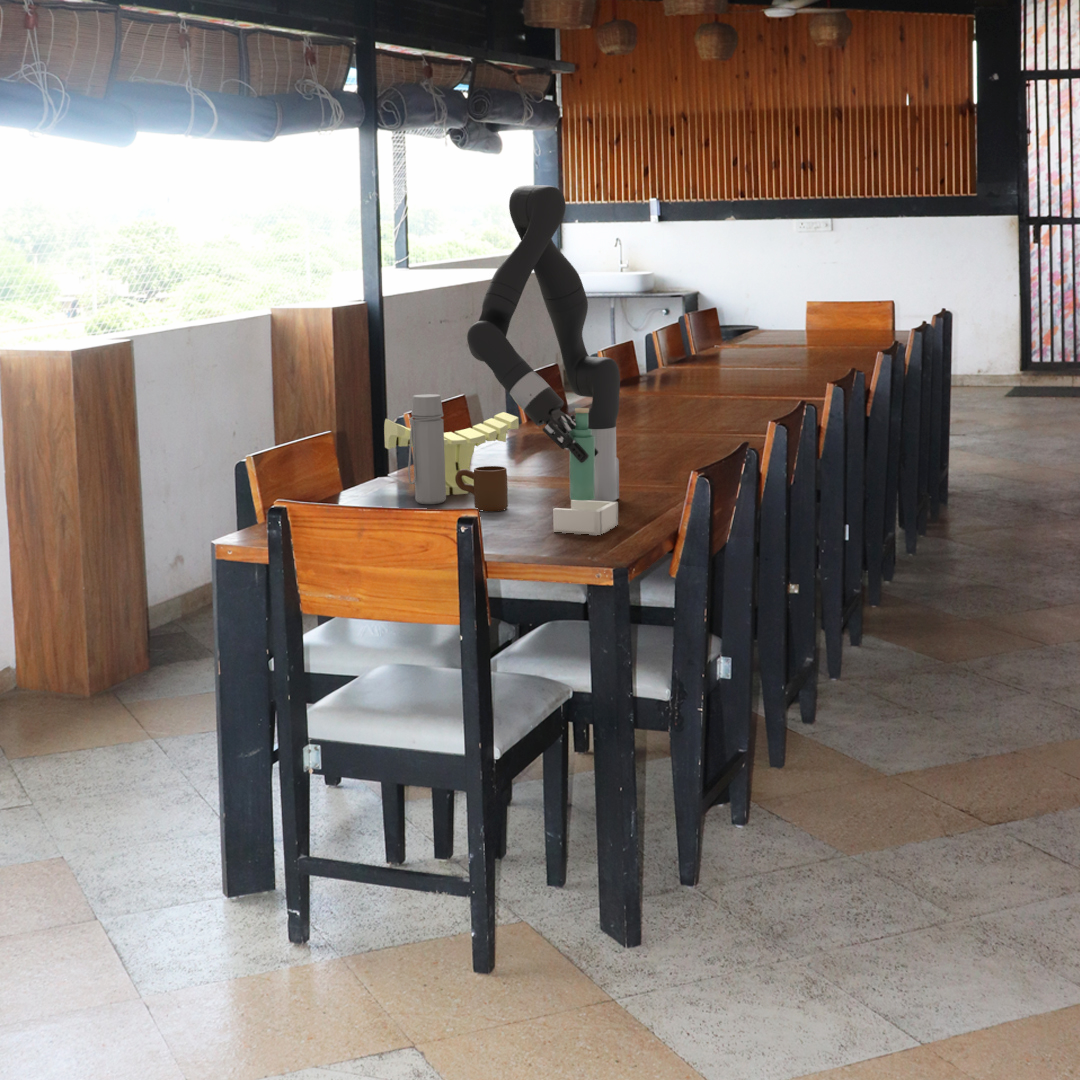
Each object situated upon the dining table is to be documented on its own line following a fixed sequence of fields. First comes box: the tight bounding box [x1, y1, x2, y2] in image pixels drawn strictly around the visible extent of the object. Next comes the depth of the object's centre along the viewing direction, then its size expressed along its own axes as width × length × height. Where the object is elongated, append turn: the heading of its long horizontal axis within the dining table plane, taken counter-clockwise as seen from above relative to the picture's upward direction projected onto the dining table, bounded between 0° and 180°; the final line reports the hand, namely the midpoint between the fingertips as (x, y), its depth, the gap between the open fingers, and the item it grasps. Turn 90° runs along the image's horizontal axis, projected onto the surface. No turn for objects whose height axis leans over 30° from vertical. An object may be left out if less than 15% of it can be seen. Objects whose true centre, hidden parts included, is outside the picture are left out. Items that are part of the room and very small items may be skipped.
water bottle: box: [407, 393, 447, 505], centre depth 316 cm, size 9×8×25 cm
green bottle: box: [569, 407, 595, 501], centre depth 282 cm, size 5×5×19 cm
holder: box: [552, 499, 619, 536], centre depth 284 cm, size 10×11×5 cm
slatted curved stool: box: [383, 411, 520, 496], centre depth 334 cm, size 30×16×18 cm, turn 108°
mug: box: [455, 465, 509, 512], centre depth 308 cm, size 12×8×9 cm, turn 79°
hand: (590, 457), depth 281 cm, fingers closed on green bottle, 5 cm apart
